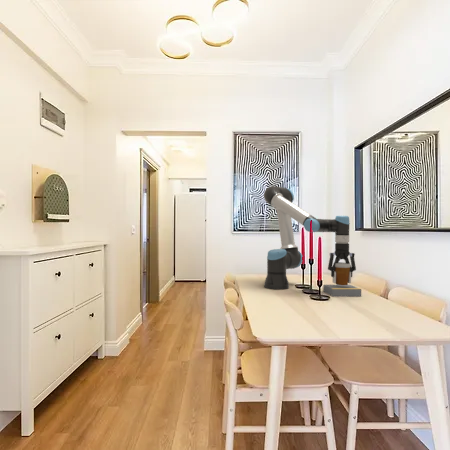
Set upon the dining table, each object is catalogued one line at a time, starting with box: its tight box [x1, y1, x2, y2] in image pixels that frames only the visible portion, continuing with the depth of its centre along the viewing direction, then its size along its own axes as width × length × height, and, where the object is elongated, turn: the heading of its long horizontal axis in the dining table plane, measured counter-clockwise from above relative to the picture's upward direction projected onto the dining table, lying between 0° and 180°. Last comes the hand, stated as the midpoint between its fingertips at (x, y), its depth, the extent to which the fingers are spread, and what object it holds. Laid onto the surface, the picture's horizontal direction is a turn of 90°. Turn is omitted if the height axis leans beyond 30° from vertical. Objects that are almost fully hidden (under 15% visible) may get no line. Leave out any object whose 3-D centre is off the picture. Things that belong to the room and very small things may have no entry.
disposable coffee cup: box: [333, 261, 351, 285], centre depth 187 cm, size 10×10×12 cm
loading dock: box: [322, 284, 362, 297], centre depth 186 cm, size 16×14×4 cm
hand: (341, 282), depth 187 cm, fingers closed on disposable coffee cup, 8 cm apart
